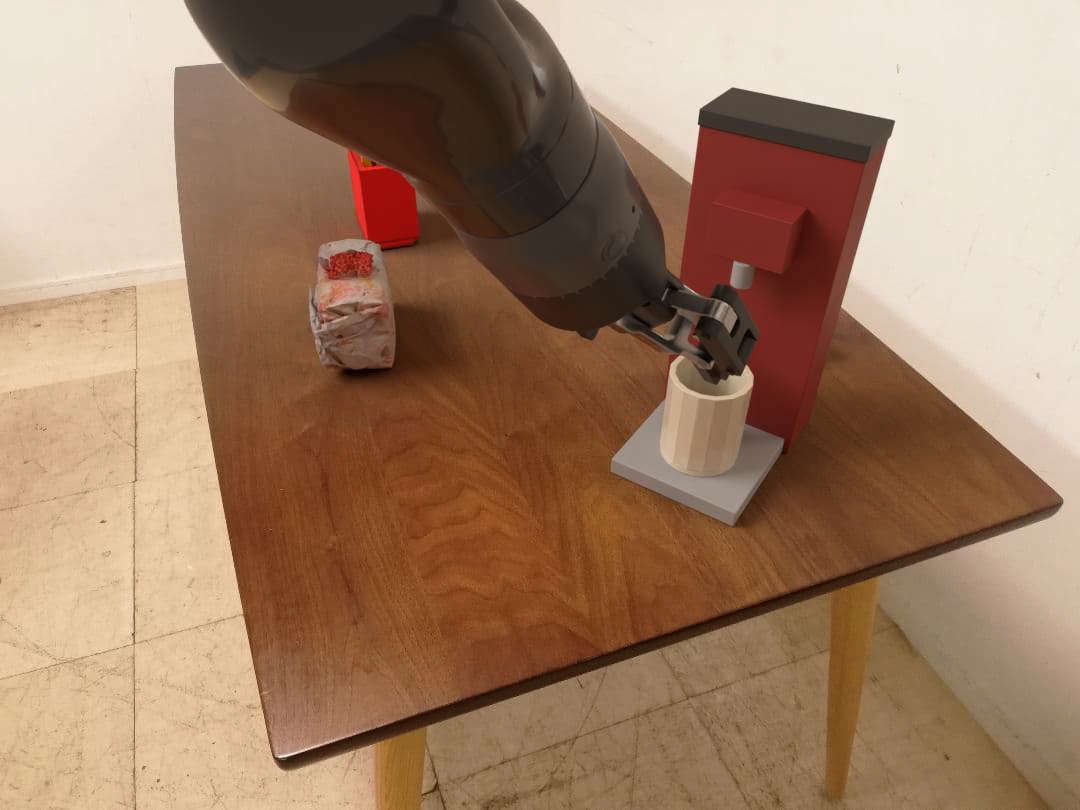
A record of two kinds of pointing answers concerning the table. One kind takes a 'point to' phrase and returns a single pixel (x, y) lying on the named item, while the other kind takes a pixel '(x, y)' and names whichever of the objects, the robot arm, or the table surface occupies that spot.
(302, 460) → the table surface
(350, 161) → the french fries container
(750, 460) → the coffee maker
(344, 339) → the food item
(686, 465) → the cream cup
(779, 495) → the table surface
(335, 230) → the table surface
